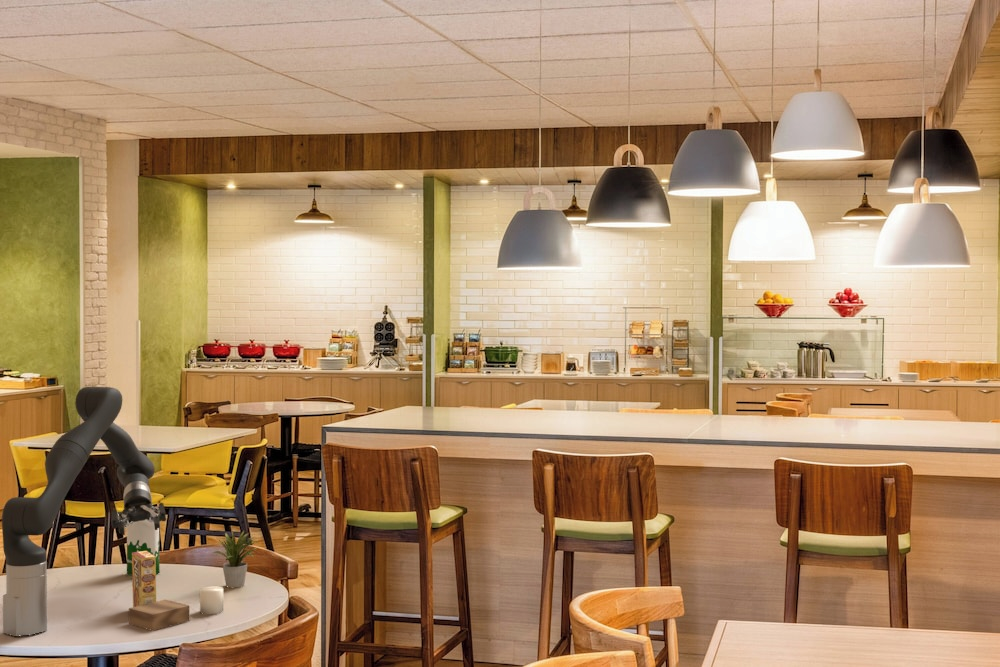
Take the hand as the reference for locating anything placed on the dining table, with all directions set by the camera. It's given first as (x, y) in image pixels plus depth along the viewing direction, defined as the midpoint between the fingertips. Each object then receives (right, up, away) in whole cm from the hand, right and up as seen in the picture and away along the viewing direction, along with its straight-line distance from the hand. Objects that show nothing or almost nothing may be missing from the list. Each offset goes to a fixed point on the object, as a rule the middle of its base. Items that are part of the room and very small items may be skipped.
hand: (139, 529), depth 306 cm
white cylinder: (+21, -20, -7) cm, 30 cm away
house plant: (+22, -20, +20) cm, 35 cm away
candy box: (+4, -21, -7) cm, 22 cm away
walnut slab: (+11, -21, -18) cm, 29 cm away
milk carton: (-10, -20, +36) cm, 42 cm away
